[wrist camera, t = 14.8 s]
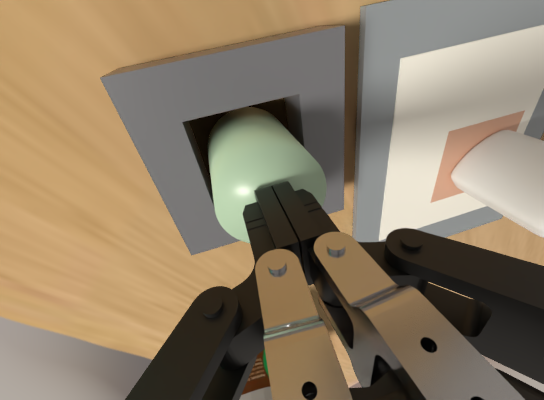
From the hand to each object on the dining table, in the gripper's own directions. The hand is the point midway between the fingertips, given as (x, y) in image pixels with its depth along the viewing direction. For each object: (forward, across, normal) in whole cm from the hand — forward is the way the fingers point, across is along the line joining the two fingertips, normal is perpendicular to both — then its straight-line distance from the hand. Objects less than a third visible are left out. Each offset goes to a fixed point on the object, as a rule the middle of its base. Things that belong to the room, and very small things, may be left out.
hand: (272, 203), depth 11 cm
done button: (+6, 0, 0) cm, 6 cm away
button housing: (+7, 0, 0) cm, 7 cm away
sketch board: (+7, -17, +5) cm, 19 cm away
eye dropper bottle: (+7, -19, +6) cm, 21 cm away
